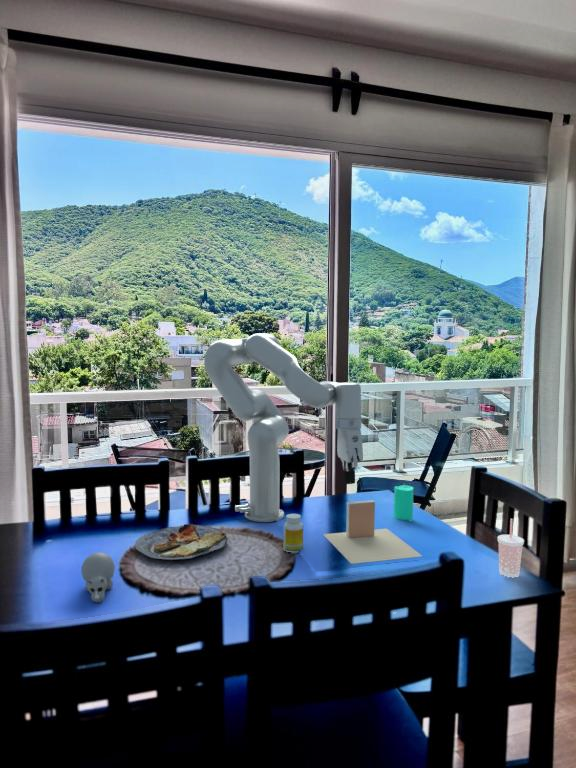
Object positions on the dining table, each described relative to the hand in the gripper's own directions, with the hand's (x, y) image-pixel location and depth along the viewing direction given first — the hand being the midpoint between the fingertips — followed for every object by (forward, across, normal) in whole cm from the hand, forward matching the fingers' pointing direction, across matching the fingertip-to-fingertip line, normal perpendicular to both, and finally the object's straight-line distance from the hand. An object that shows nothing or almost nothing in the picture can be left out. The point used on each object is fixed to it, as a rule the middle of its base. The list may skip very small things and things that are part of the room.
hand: (349, 483), depth 175 cm
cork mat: (+14, -18, +1) cm, 22 cm away
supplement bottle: (+14, -14, +22) cm, 29 cm away
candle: (+14, +2, -19) cm, 24 cm away
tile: (+13, -11, +1) cm, 17 cm away
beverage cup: (+15, -42, -25) cm, 51 cm away
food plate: (+13, -3, +51) cm, 53 cm away
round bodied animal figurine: (+13, -28, +72) cm, 78 cm away
